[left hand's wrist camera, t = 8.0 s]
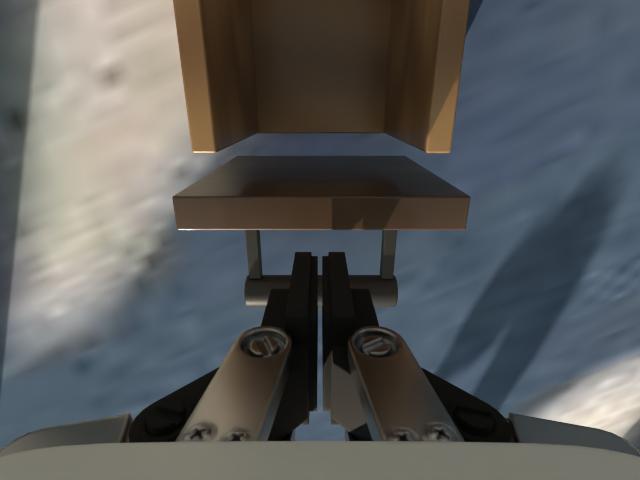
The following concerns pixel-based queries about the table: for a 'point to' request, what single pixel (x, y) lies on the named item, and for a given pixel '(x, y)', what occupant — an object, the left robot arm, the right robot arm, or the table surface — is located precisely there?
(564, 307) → the table surface
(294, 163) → the drawer
